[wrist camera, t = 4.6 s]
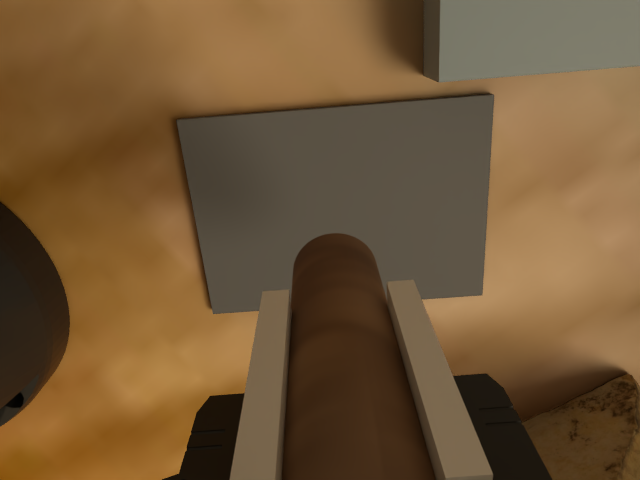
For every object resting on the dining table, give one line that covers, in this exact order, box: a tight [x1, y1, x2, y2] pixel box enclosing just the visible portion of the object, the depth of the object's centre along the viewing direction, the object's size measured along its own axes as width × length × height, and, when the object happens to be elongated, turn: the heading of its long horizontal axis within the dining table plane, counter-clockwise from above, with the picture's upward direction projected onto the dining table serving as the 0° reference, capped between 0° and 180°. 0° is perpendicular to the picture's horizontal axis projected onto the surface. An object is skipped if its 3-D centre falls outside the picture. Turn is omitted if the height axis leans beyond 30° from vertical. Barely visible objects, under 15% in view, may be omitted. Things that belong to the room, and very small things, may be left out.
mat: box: [176, 94, 494, 314], centre depth 24 cm, size 14×10×1 cm
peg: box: [282, 233, 436, 480], centre depth 12 cm, size 3×3×12 cm
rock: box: [521, 374, 640, 480], centre depth 27 cm, size 11×9×10 cm
